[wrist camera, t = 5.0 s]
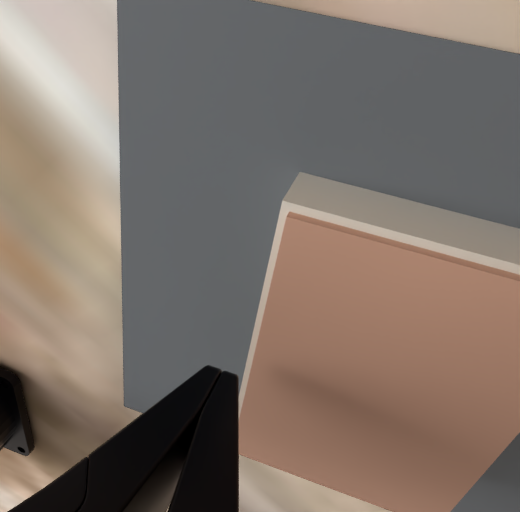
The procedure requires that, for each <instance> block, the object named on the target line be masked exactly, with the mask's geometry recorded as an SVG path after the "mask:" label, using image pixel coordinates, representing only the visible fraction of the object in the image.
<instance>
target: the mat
mask: <svg viewBox="0 0 520 512" xmlns="http://www.w3.org/2000/svg"><path fill="white" fill-rule="evenodd" d="M117 21H118V80H119V139H120V198H121V257H122V316H123V375H124V406H125V407H128V408H130V409H133V410H136V411H139V412H141V413H144V412H146V411H147V410H148V409H149V408H151V407H152V406H153V405H155V404H156V403H157V402H159V401H160V400H161V399H163V398H164V397H165V396H166V395H168V394H169V393H170V392H172V391H173V390H174V389H176V388H177V387H178V386H180V385H181V384H182V383H183V382H185V381H186V380H187V379H189V378H190V377H191V376H193V375H194V374H195V373H197V372H198V371H199V370H200V369H202V368H203V367H204V366H206V365H211V366H214V367H217V368H220V369H221V370H222V372H223V371H228V372H231V373H234V374H237V375H238V377H239V393H240V388H241V384H242V379H243V375H244V370H245V366H246V361H247V357H248V352H249V348H250V343H251V339H252V334H253V330H254V325H255V321H256V316H257V312H258V307H259V303H260V298H261V294H262V289H263V285H264V280H265V276H266V271H267V267H268V262H269V258H270V253H271V249H272V244H273V240H274V235H275V231H276V226H277V222H278V217H279V213H280V208H281V204H282V200H283V198H284V197H285V195H286V194H287V192H288V190H289V189H290V187H291V185H292V184H293V182H294V181H295V179H296V177H297V176H298V174H299V172H303V173H307V174H310V175H314V176H318V177H322V178H326V179H330V180H334V181H337V182H341V183H345V184H349V185H353V186H357V187H361V188H364V189H368V190H372V191H376V192H380V193H384V194H388V195H391V196H395V197H399V198H403V199H407V200H411V201H414V202H418V203H422V204H426V205H430V206H434V207H438V208H441V209H445V210H449V211H453V212H457V213H461V214H465V215H468V216H472V217H476V218H480V219H484V220H488V221H492V222H495V223H499V224H503V225H507V226H511V227H515V228H519V229H520V54H516V53H511V52H506V51H501V50H496V49H491V48H486V47H481V46H476V45H471V44H466V43H461V42H456V41H451V40H446V39H441V38H436V37H431V36H426V35H421V34H416V33H411V32H406V31H401V30H396V29H391V28H386V27H381V26H376V25H371V24H366V23H361V22H356V21H351V20H346V19H341V18H336V17H331V16H326V15H321V14H316V13H311V12H306V11H301V10H296V9H291V8H286V7H281V6H276V5H271V4H266V3H261V2H256V1H251V0H117ZM451 512H520V432H519V434H518V435H517V436H516V437H515V438H514V439H513V440H512V442H511V443H510V444H509V445H508V446H507V447H506V448H505V450H504V451H503V452H502V453H501V454H500V455H499V457H498V458H497V459H496V460H495V461H494V462H493V463H492V465H491V466H490V467H489V468H488V469H487V470H486V471H485V473H484V474H483V475H482V476H481V477H480V478H479V479H478V481H477V482H476V483H475V484H474V485H473V486H472V487H471V489H470V490H469V491H468V492H467V493H466V494H465V495H464V497H463V498H462V499H461V500H460V501H459V502H458V504H457V505H456V506H455V507H454V508H453V509H452V510H451Z"/></svg>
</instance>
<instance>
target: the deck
mask: <svg viewBox="0 0 520 512" xmlns="http://www.w3.org/2000/svg"><path fill="white" fill-rule="evenodd" d="M519 432H520V229H519V228H515V227H511V226H507V225H503V224H499V223H495V222H492V221H488V220H484V219H480V218H476V217H472V216H468V215H465V214H461V213H457V212H453V211H449V210H445V209H441V208H438V207H434V206H430V205H426V204H422V203H418V202H414V201H411V200H407V199H403V198H399V197H395V196H391V195H388V194H384V193H380V192H376V191H372V190H368V189H364V188H361V187H357V186H353V185H349V184H345V183H341V182H337V181H334V180H330V179H326V178H322V177H318V176H314V175H310V174H307V173H303V172H299V174H298V176H297V177H296V179H295V181H294V182H293V184H292V185H291V187H290V189H289V190H288V192H287V194H286V195H285V197H284V198H283V200H282V204H281V208H280V213H279V217H278V222H277V226H276V231H275V235H274V240H273V244H272V249H271V253H270V258H269V262H268V267H267V271H266V276H265V280H264V285H263V289H262V294H261V298H260V303H259V307H258V312H257V316H256V321H255V325H254V330H253V334H252V339H251V343H250V348H249V352H248V357H247V361H246V366H245V370H244V375H243V379H242V384H241V388H240V393H239V454H240V455H242V456H245V457H248V458H250V459H253V460H256V461H258V462H261V463H264V464H266V465H269V466H272V467H275V468H277V469H280V470H283V471H285V472H288V473H291V474H293V475H296V476H299V477H301V478H304V479H307V480H309V481H312V482H315V483H317V484H320V485H323V486H325V487H328V488H331V489H333V490H336V491H339V492H342V493H344V494H347V495H350V496H352V497H355V498H358V499H360V500H363V501H366V502H368V503H371V504H374V505H376V506H379V507H382V508H384V509H387V510H390V511H392V512H451V510H452V509H453V508H454V507H455V506H456V505H457V504H458V502H459V501H460V500H461V499H462V498H463V497H464V495H465V494H466V493H467V492H468V491H469V490H470V489H471V487H472V486H473V485H474V484H475V483H476V482H477V481H478V479H479V478H480V477H481V476H482V475H483V474H484V473H485V471H486V470H487V469H488V468H489V467H490V466H491V465H492V463H493V462H494V461H495V460H496V459H497V458H498V457H499V455H500V454H501V453H502V452H503V451H504V450H505V448H506V447H507V446H508V445H509V444H510V443H511V442H512V440H513V439H514V438H515V437H516V436H517V435H518V434H519Z"/></svg>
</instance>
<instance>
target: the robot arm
mask: <svg viewBox="0 0 520 512" xmlns="http://www.w3.org/2000/svg"><path fill="white" fill-rule="evenodd" d="M3 447H4V448H7V449H9V450H12V451H14V452H17V453H19V454H22V455H25V456H28V455H29V454H30V453H31V452H32V451H33V449H34V448H35V446H34V442H33V437H32V433H31V428H30V424H29V420H28V415H27V411H26V406H25V402H24V398H23V393H22V389H21V384H20V381H19V379H18V377H17V376H16V375H15V374H13V373H12V372H10V371H7V370H5V369H2V368H0V451H1V449H2V448H3ZM170 502H171V503H170ZM169 504H170V506H169ZM168 506H169V509H168V512H239V377H238V375H237V374H234V373H231V372H228V371H223V372H222V370H221V369H220V368H217V367H214V366H211V365H206V366H204V367H203V368H202V369H200V370H199V371H198V372H197V373H195V374H194V375H193V376H191V377H190V378H189V379H187V380H186V381H185V382H183V383H182V384H181V385H180V386H178V387H177V388H176V389H174V390H173V391H172V392H170V393H169V394H168V395H166V396H165V397H164V398H163V399H161V400H160V401H159V402H157V403H156V404H155V405H153V406H152V407H151V408H149V409H148V410H147V411H146V412H144V413H143V414H142V415H140V416H139V417H138V418H136V419H135V420H134V421H132V422H131V423H130V424H129V425H127V426H126V427H125V428H123V429H122V430H121V431H119V432H118V433H117V434H115V435H114V436H113V437H112V438H110V439H109V440H108V441H106V442H105V443H104V444H102V445H101V446H100V447H98V448H97V449H96V450H95V451H93V452H92V453H91V454H89V457H88V458H87V457H85V458H84V459H82V460H81V461H80V462H79V463H77V464H76V465H75V466H73V467H72V468H71V469H69V470H68V471H67V472H65V473H64V474H63V475H61V476H60V477H58V478H57V479H56V480H54V481H53V482H52V483H50V484H49V485H47V486H46V487H45V488H43V489H42V490H40V491H39V492H37V493H36V494H34V495H32V496H31V497H29V498H28V499H26V500H25V501H23V502H22V503H20V504H19V505H17V506H16V507H14V508H12V509H11V510H9V511H8V512H166V510H167V508H168Z"/></svg>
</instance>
